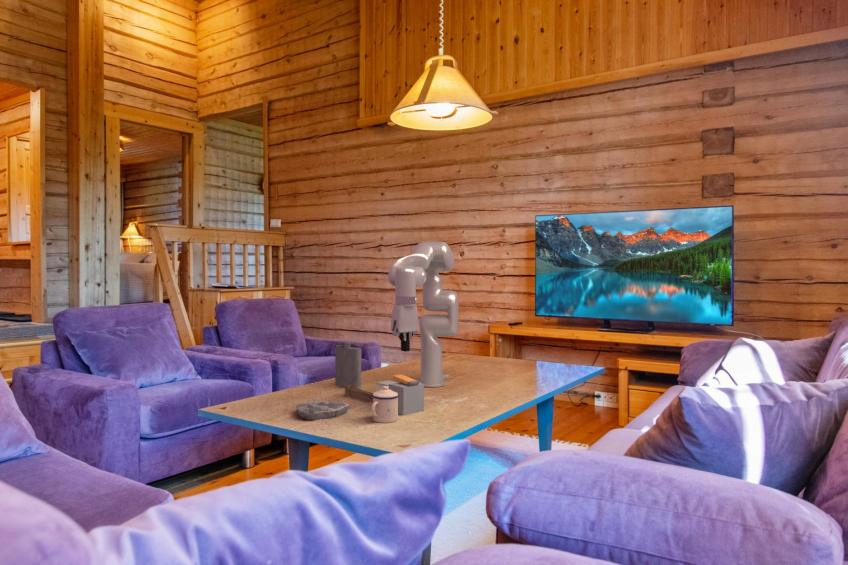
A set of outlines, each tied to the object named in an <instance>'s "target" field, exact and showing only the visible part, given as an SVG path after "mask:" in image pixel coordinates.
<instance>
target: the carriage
mask: <svg viewBox="0 0 848 565" xmlns="http://www.w3.org/2000/svg"><path fill="white" fill-rule="evenodd" d="M393 383H399V381H394V380H393V381H392V380H385V381H384V380H383V381H377V382H376V392H377V391H379V390H381V389H383V386H388V389H389V384H393Z"/></svg>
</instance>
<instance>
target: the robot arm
mask: <svg viewBox="0 0 848 565" xmlns="http://www.w3.org/2000/svg"><path fill="white" fill-rule="evenodd" d="M454 267H455V256H454V253H453V251H452V249H451V248H450V246H449V244H448V243H447V242H445V241H430V240H429V241H428V240H427V241H420V242H419V243H417V245H416V246H415V247H414V249H413V251H412V252H411V254H409V255H405V256H403V257H400V258H399V259H396V260H395V261H394V262H393V263H392V265H391V266H390V268H389V270H388V274H387V279H388V284H390V285H391V286H393V287H395V288H394V289H395V290H394V291H395V292H394V294H395V295H394V296H395V297H394V304H395V305H393V307H392V311H391V318H390V319H391V320H390V331H391V332H393V333H392V334H393V337H398V339H399V341H400V352H404V353H405V352H406V353H407V352H410V351H411V349H410V348H411V342H410V341H411V340H412V338H413V336H414V335H417V333H418V329H419V332H420V348H421V349H420V380H418V381H419V383H422V384H424V388H440V387H441V388H442V387H443V386H446V381H444V380H445V379H446V380H447V379H449V378H450V374H448V373H446V374H444V373H443V344H442V342H441V341H440V340H441V339H439V338H438V337H454V336H456V335H458V332H459V320H460V319H459V317H460V316H459V313H460V311H459V306H460V305H459V304H460V303H459V296H458V294H457V291H454V290H448V289H443V288H442V286H443V285H442V284H443V282H442V277H441V275H440V273H439V272H451V271H452V270H453V269H454ZM417 287H422V306H423V308H424V310H425V311H428V312H445V313H447V314H437V313H433V314H432V313H429V314H428V313H427V314H424V315H422V316H421V317H420V318H419V312H418V305H417V303H416V302H418V301H417V300H418V298H417V297H416V296H417V295H416V294H417V293H416V290H417Z"/></svg>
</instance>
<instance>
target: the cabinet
mask: <svg viewBox="0 0 848 565" xmlns="http://www.w3.org/2000/svg"><path fill="white" fill-rule="evenodd" d="M389 389H390V390H392V391H394V392H397V393H398V395H399V396H398V415H400V416H406V415H407V414H408V415H411V413H412V414H416V413H420V411H421V412H424V410H425V408H424V407H425V404H424V403H425V402H424V401H425V399H424V398H425V397H424V396H425V394H424V393H425V390H424V389H425V387H424V384H422V383H419V384H418V385H413V386H408V385H407V384H404V383H402V382H400V381H398V383H393V384H389Z"/></svg>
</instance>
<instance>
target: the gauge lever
mask: <svg viewBox="0 0 848 565" xmlns="http://www.w3.org/2000/svg"><path fill="white" fill-rule="evenodd" d="M392 380H395V381H396V382H402V383H404V384H407V385H408V386H413V385H418V384H419V381H420V380H418V379H414V378H411V377H408V376H407V375H404V374H402V373H401V374H395V375H392Z"/></svg>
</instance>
